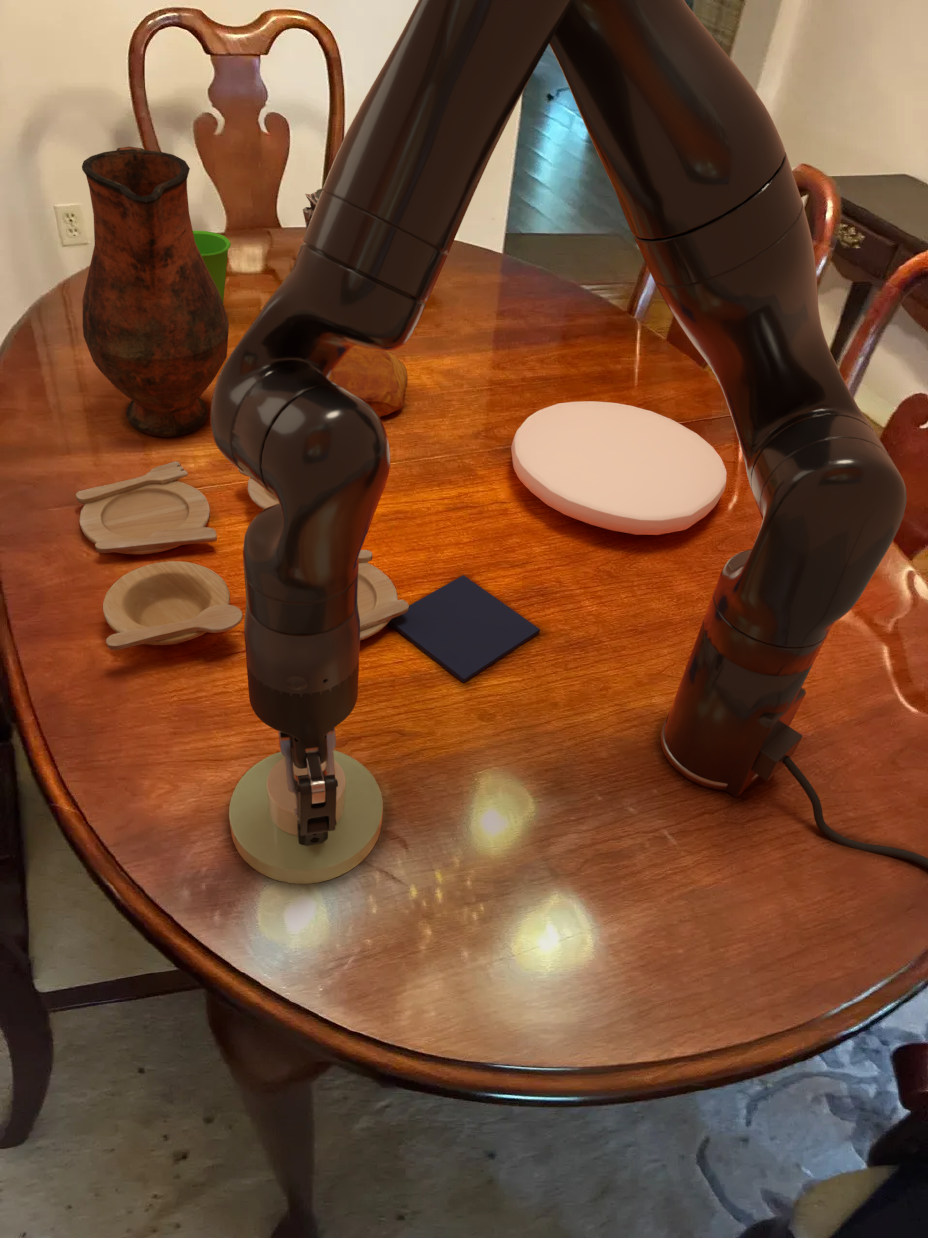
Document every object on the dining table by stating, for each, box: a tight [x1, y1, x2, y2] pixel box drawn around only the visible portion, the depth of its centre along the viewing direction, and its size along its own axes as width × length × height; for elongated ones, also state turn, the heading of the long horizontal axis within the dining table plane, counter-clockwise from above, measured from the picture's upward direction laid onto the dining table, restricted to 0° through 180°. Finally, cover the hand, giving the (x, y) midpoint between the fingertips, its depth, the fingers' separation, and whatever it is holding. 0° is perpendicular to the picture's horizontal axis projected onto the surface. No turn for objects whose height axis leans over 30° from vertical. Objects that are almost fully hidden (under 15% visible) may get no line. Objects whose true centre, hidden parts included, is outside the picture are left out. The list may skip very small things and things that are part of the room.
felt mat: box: [387, 574, 541, 684], centre depth 93 cm, size 11×11×1 cm
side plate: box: [228, 749, 384, 885], centre depth 74 cm, size 12×12×2 cm
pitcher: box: [81, 146, 230, 438], centre depth 109 cm, size 17×21×30 cm
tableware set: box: [75, 460, 410, 651], centre depth 95 cm, size 35×29×4 cm
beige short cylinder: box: [267, 758, 346, 836], centre depth 72 cm, size 6×6×3 cm
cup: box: [193, 230, 231, 303], centre depth 136 cm, size 9×9×11 cm
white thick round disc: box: [510, 400, 728, 536], centre depth 114 cm, size 28×6×27 cm
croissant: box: [329, 344, 409, 418], centre depth 123 cm, size 14×16×8 cm
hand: (305, 800), depth 73 cm, fingers open, 7 cm apart
